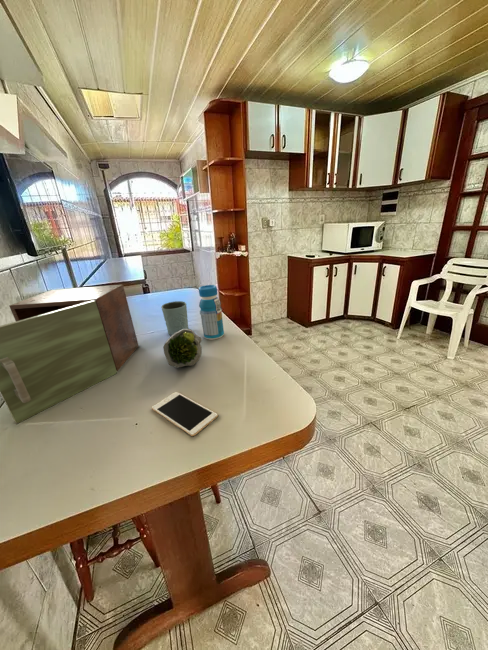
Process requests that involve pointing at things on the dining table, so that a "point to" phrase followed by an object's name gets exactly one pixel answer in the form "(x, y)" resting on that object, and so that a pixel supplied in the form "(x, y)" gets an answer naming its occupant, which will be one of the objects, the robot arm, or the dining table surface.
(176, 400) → the cell phone
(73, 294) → the cupboard
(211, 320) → the beverage bottle
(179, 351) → the potted plant
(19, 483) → the dining table surface
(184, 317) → the grey green cup
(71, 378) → the cupboard door
